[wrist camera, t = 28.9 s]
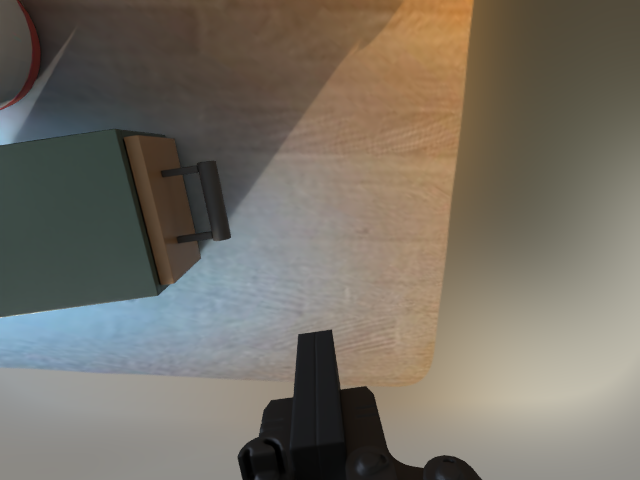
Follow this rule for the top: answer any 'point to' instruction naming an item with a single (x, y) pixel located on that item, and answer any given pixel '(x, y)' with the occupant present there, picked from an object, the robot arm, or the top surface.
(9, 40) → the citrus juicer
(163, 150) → the drawer
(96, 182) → the cabinet
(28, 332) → the top surface
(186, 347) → the top surface
